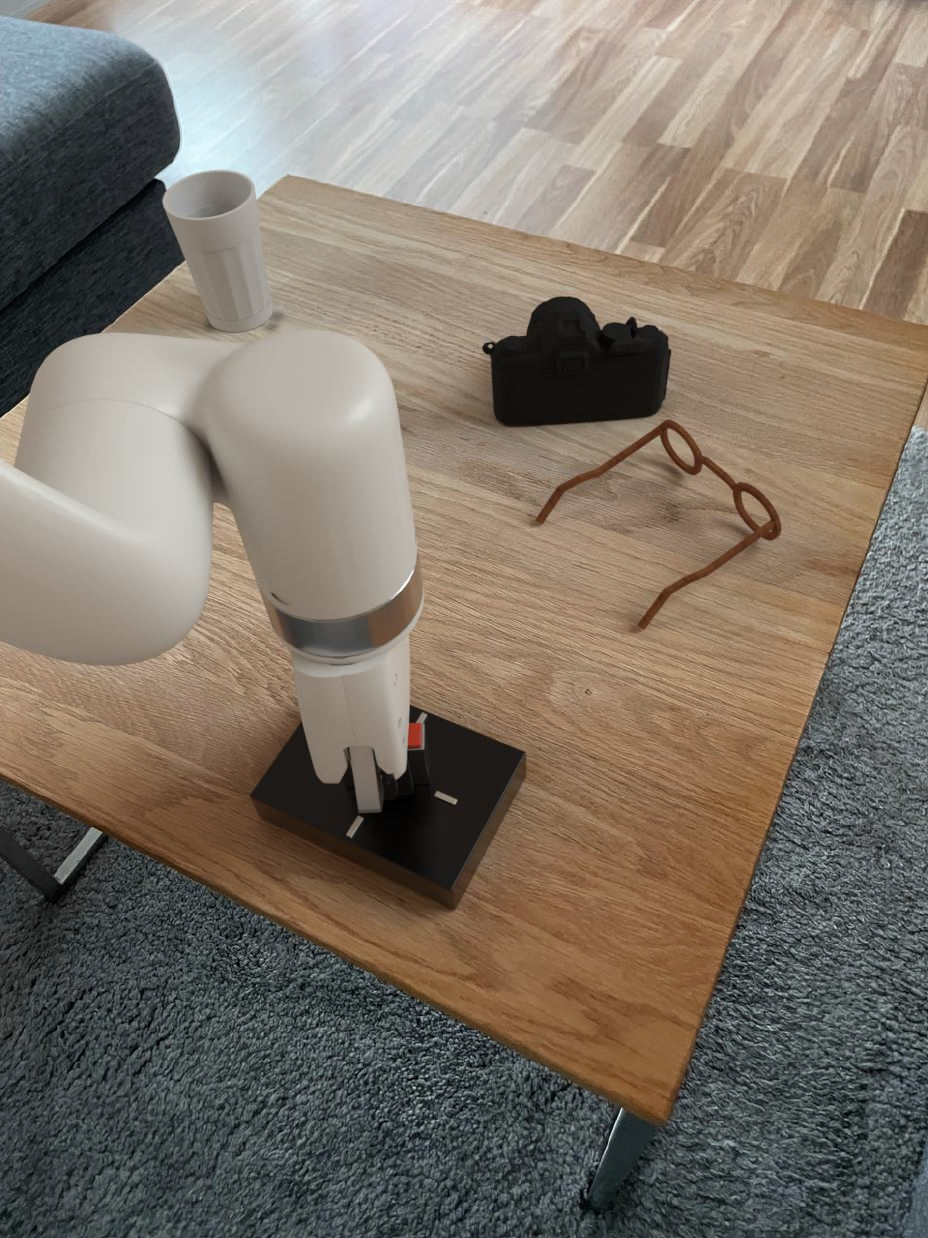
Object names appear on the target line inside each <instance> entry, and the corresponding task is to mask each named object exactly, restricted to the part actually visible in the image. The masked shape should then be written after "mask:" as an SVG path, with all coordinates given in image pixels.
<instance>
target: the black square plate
mask: <svg viewBox="0 0 928 1238" xmlns="http://www.w3.org/2000/svg"><path fill="white" fill-rule="evenodd" d="M409 723H424V724H425V729H426V735H427V741H428V747H429V753H430V784H415V785H413V794H411V795H406V796H398V797H397V798H396V799H394V800H387V801H383V808H382V812H373V813H359V811H358V805H357V799H356V792H355V787H349V788H346V787H345V784H344V781H343V778H342V779H341V781H340V782H339V783H323V782H322V781H321V780H320V779H319V778H318V776H317V774H316V772H315V769H314V765H313V762H312V758H311V754H310V751H309V747H308V743H307V739H306V735H305V731H304V727H303V723H302V720H301V721H300V723H298V725H297V727H296V728H295V730H294V731H293V732H292V734H291V736H289V738H288V739H287V741H286V743H285V744H284V745H283V747H282V748H281V750H280V751H279V753H278V754H277V755H276V756H275V758H274V760H273V761H272V763H271V764H270V766H268V768H267V770H266V771H265V773H264V774H263V776H261V778H260V780H259V781H258V783H257V784H256V785H255V787H254V788H253V789H252V791H251V793H250V794H249V798H250V800H251V802H252V805H253V807H254V808H255V810H256V813H257V814H258V817H259V818H260V819H262V820H263V821H266V822H268V823H270V824H272V825H274V826H276V827H278V828H281V829H283V830H285V831H287V832H289V833H291V834H292V835H295V836H298V837H299V838H302V839H304V840H306V841H308V842H310V843H312V844H314V845H316V846H318V847H320V848H322V849H324V850H326V851H329V852H331V853H333V854H335V855H337V856H339V857H341V858H343V859H345V860H348V861H349V862H352V863H354V864H356V865H357V866H360V867H362V868H364V869H366V870H368V871H370V872H373V873H375V874H376V875H379V876H381V877H384V878H385V879H387V880H390V881H391V882H394V883H396V884H398V885H400V886H402V887H404V888H406V889H408V890H410V891H413V892H414V893H417V894H418V895H421V896H423V897H425V898H427V899H429V900H431V901H433V902H436V903H438V904H440V905H441V906H443V907H446V908H447V909H449V910H452V911H455V910H456V909H458V906H459V904H460V902H461V900H462V898H463V897H464V895H465V893H466V891H467V889H468V887H469V885H470V883H471V881H472V880H473V877H474V876H475V874H476V872H477V870H478V869H479V866H480V865H481V862H482V861H483V859H484V857H485V856H486V853H487V851H488V850H489V848H490V846H491V844H492V843H493V839H494V838H495V837H496V835H497V833H498V831H499V828H500V827H501V825H502V823H503V821H504V819H505V817H506V815H507V814H508V811H510V808H511V806H512V804H513V802H514V800H515V799H516V796H517V795H518V793H519V791H520V789H521V787H522V785H523V784H524V781H525V780H526V777H527V752H526V751H524V750H522V749H520V748H517V747H514V746H512V745H510V744H507V743H505V742H502V741H500V740H497V739H495V738H493V737H490V736H488V735H486V734H483V733H480V732H478V731H475V730H473V729H470V728H468V727H466V726H463V725H461V724H458V723H456V722H453V721H451V720H449V719H447V718H444V717H441V716H439V715H437V714H434V713H432V712H430V711H426V710H424V709H422V708H420V707H418V706H415V705H412V704H410V707H409Z"/></svg>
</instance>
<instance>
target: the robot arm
mask: <svg viewBox="0 0 928 1238" xmlns="http://www.w3.org/2000/svg"><path fill="white" fill-rule="evenodd" d="M384 365H385V364H383V362H382V361H381V359H379V357H378V355H377V354H376V353H375V352H373V351H372V350H371V349H370V348H369V347H367V346H366V345H365V344H363V343H362V342H361V341H358V340H357V339H355V338H353V337H350V336H348V335H346V334H344V333H343V334H342V333H339V332H335V331H331V330H325V329H316V328H299V329H289V330H283V331H279V332H274V333H271V334H268V335H264V336H262V337H260V338H257V339H255V340H252V341H249V342H245V341H244V342H241V341H224V340H209V339H200V338H190V337H189V338H188V337H180V336H170V335H163V334H161V335H160V334H150V333H140V332H121V331H120V332H100V333H93V334H88V335H83V336H80V337H76V338H74V339H70V340H68V341H67V342H65V343H63V344H61V345H59V346H58V347H56V348H54V350H53V351H51V353H49V354H48V355H47V356H46V357H45V359H44V360H43V362H42V363H41V365H40V367H39V368H38V369H37V371H36V373H35V375H34V379H33V381H32V383H31V387H30V390H29V394H28V397H27V398H28V399H27V404H26V408H25V413H24V417H23V421H22V422H23V423H22V429H21V433H20V437H19V441H18V446H17V450H16V454H15V459H14V463H13V465H12V464H10V462H8V461H5V459H3V458H1V457H0V642H2V643H4V644H7V645H9V646H11V647H14V648H17V649H20V650H24V651H26V652H30V653H33V654H36V655H38V656H43V657H46V658H51V659H55V660H57V661H62V662H65V663H73V664H80V665H86V666H92V667H93V666H95V667H98V666H99V667H101V666H102V667H119V666H127V665H134V664H138V663H143V662H145V661H149V660H152V659H154V658H157V657H158V658H159V656H161V655H163V654H165V653H166V652H169V651H170V650H172V649H174V648H175V647H176V646H178V644H179V643H181V642H182V641H183V640H184V639H185V638H186V637H187V636H188V635H189V633H190V632H191V631H192V630H193V628H194V627H195V626H196V624H197V622H198V621H199V619H200V618H201V614H202V613H203V611H204V608H205V604H206V601H207V598H208V594H209V589H210V579H211V573H212V572H211V570H212V559H213V543H214V542H213V541H214V505H215V504H220V505H223V506H225V507H226V508H227V509H229V510H230V512H231V514H232V515H233V519H234V521H235V524H236V527H237V531H238V533H239V536H240V538H241V542H242V545H243V547H244V550H245V553H246V556H247V560H248V562H249V564H250V567H251V570H252V573H253V576H254V579H255V582H256V584H257V587H258V589H259V590H258V591H259V593H260V596H261V598H262V601H263V605H264V607H265V610H266V613H267V616H268V619H269V623H270V626H271V629H272V631H273V633H274V634H275V636H276V637H277V638H278V639H279V641H280V642H281V644H282V645H283V646H285V647H286V648H287V649H288V650H289V651H290V652H291V661H292V671H293V680H294V687H295V694H296V700H297V705H298V709H299V714H300V718H301V721H302V723H303V727H304V731H305V735H306V739H307V743H308V747H309V751H310V754H311V758H312V762H313V765H314V769H315V772H316V774H317V776H318V778H319V779H320V780H321V781H322V782H323V783H339V782H340V781H341V779H342V777H343V775H344V773H345V771H346V769H347V765H348V764H347V760H349V761H350V765H351V768H352V772H353V778H354V785H355V792H356V799H357V805H358V811H359V813H373V812H382V808H383V801H387V800H394V799H396V798H397V797H398V796H406V795H411V794H413V780H412V775H411V770H410V765H409V760H408V756H407V746H408V729H409V707H410V705H411V704H410V703H411V702H410V701H411V647H410V634H411V632H412V631H413V629H414V628H415V627H416V625H417V624H418V623H417V622H418V621H419V620H420V617H421V616H422V612H423V609H424V603H425V588H424V580H423V575H422V574H423V573H422V569H421V568H422V567H421V560H420V555H419V554H420V553H419V547H418V540H417V531H416V526H415V520H414V513H413V506H412V505H413V504H412V499H411V492H410V484H409V477H408V470H407V463H406V457H405V455H406V454H405V449H404V441H403V436H402V428H401V421H400V413H399V407H398V402H397V396H396V391H395V387H394V383H393V381H392V378H391V376H390V374H389V372H388V370H387V368H386V366H384Z"/></svg>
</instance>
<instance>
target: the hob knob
mask: <svg viewBox="0 0 928 1238" xmlns="http://www.w3.org/2000/svg"><path fill="white" fill-rule="evenodd" d="M407 756H408V760H409V765H410V770H411V775H412V780H413V785H415V784H430V753H429V747H428V741H427V735H426V729H425V724H424V723H409V729H408V746H407ZM347 764H348V765H347V769H346V771H345V773H344V775H343V777H342V778H343V781H344V784H345V787H346V788H349V787H355V785H354V778H353V772H352V768H351V765H350V761H349V760H347Z"/></svg>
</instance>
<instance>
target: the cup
mask: <svg viewBox="0 0 928 1238" xmlns="http://www.w3.org/2000/svg"><path fill="white" fill-rule="evenodd" d="M162 206H163V209H164V211H165V213H166V216H167V218H168V221H169V224H170V226H171V228H172V230H173V232H174V233H173V234H174V235H175V237H176V240H177V242H178V245H179V247H180V250H181V253H182V255H183V257H184V260H185V263H186V265H187V268H188V269H189V270H188V271H189V273H190V275H191V279H192V280H193V282H194V285H195V288H196V290H197V293H198V295H199V298H200V300H201V302H202V305H203V307H204V311H205V313H206V317H207V321H208V322H209V324H210V325H211V326H212V327H213V328H214V329H216V330H218V331H220V332H221V331H222V332H226V333H241V332H242V333H243V332H246V331H251V330H253V329H256V328H258V327H260V326H262V325H263V324H265V323H266V322H267V321H269V319H270V318H271V317H272V316H273V313H274V309H275V308H274V302H273V298H272V294H271V291H270V286H269V280H268V279H269V278H268V274H267V273H268V272H267V267H266V266H267V265H266V260H265V255H264V254H265V253H264V248H263V241H262V235H261V228H260V217H259V209H258V208H259V207H258V202H257V194H256V187H255V184H254V181H252V179H251V178H250V177H249V176H247V175H245V174H244V173H241V172H237V171H235V170H229V169H228V170H227V169H212V170H211V169H210V170H205V171H200V172H199V171H198V172H196V173H193V174H190V175H187V176H185V177H182V178H180V179H179V180H177V181H175V182H174V183H173V184H171V185H170V186H169V187H168V189H167V190H166V191H165V192H164V194H163V196H162Z"/></svg>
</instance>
